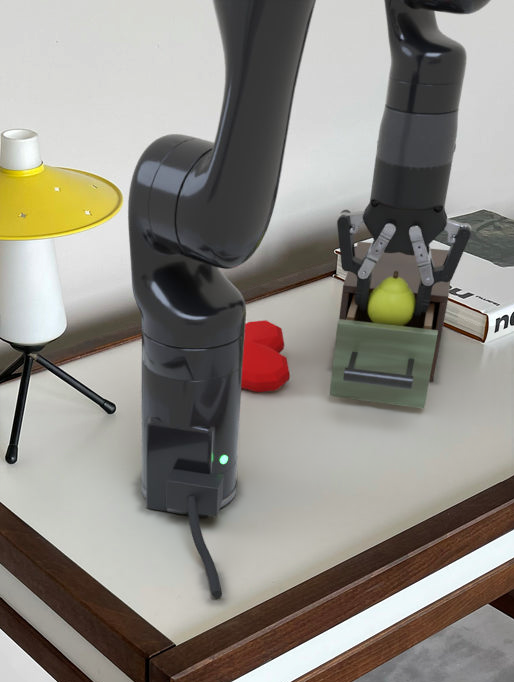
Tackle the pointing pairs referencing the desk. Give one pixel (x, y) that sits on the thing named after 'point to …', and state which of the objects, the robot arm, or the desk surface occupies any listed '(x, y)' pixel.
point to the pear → (391, 302)
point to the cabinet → (412, 277)
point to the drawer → (383, 359)
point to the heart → (263, 357)
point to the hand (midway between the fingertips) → (390, 310)
